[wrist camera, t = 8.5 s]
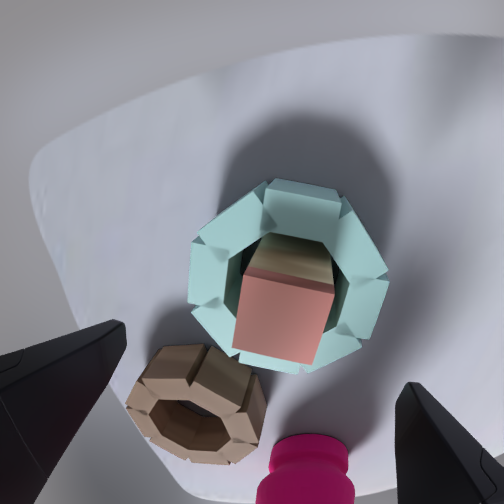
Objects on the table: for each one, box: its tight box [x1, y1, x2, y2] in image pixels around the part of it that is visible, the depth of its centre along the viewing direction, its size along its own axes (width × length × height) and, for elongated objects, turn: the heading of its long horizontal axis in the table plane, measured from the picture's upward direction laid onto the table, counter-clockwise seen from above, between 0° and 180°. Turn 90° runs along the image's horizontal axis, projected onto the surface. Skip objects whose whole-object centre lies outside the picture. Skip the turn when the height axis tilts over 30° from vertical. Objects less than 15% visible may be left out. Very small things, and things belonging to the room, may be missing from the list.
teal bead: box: [187, 178, 390, 375], centre depth 16 cm, size 9×9×4 cm
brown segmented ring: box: [125, 344, 267, 465], centre depth 20 cm, size 9×9×4 cm
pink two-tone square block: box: [232, 232, 335, 365], centre depth 14 cm, size 3×3×6 cm
